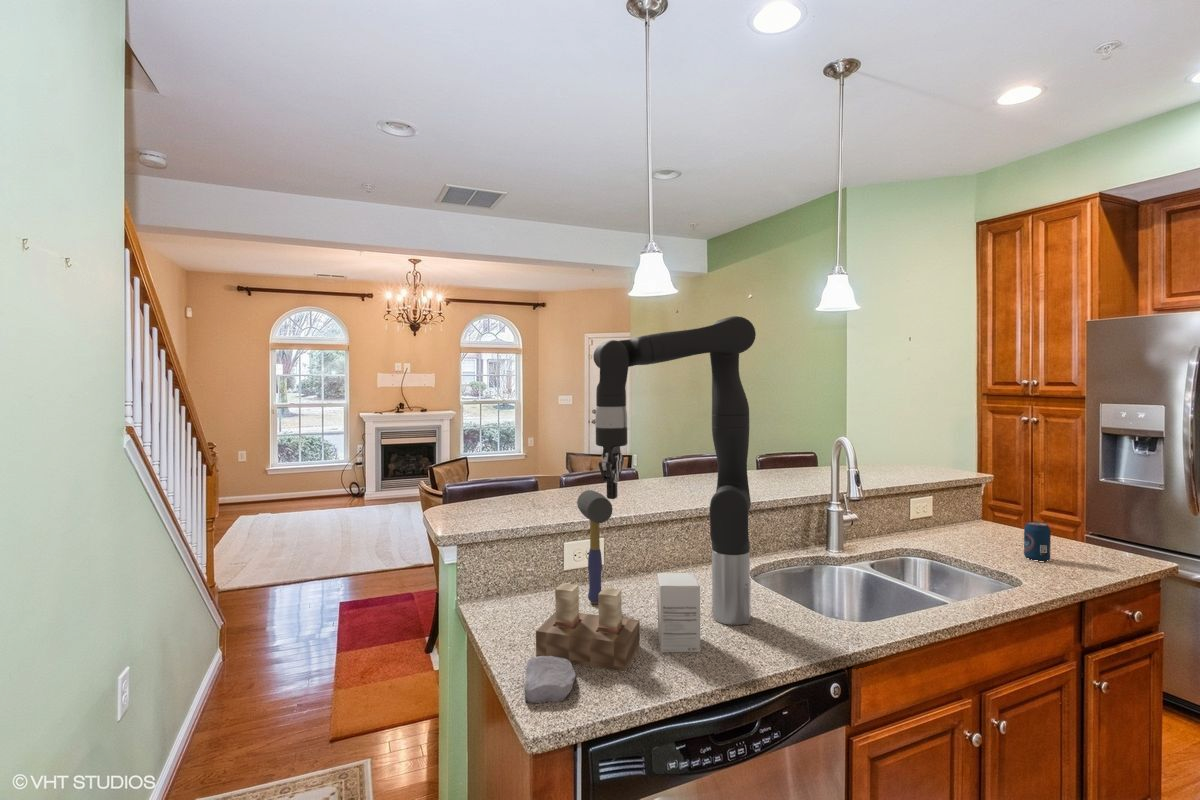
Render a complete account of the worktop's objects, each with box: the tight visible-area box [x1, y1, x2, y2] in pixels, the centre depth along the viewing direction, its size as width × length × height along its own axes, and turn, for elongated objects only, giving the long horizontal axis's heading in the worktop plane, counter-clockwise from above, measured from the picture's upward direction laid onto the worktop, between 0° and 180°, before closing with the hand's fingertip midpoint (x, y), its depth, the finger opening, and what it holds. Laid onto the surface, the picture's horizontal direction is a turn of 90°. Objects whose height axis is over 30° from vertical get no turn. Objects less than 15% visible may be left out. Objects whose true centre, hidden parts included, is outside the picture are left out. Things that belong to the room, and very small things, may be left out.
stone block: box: [524, 656, 576, 704], centre depth 113 cm, size 12×5×10 cm
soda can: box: [1023, 520, 1052, 562], centre depth 190 cm, size 7×7×12 cm
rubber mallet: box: [576, 489, 613, 605], centre depth 156 cm, size 12×8×30 cm, turn 16°
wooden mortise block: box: [535, 611, 641, 673], centre depth 128 cm, size 20×12×6 cm, turn 72°
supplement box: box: [656, 572, 701, 653], centre depth 131 cm, size 9×9×15 cm
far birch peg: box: [554, 582, 580, 629], centre depth 129 cm, size 4×4×13 cm
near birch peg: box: [597, 587, 623, 635], centre depth 126 cm, size 4×4×13 cm
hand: (612, 498), depth 138 cm, fingers closed
